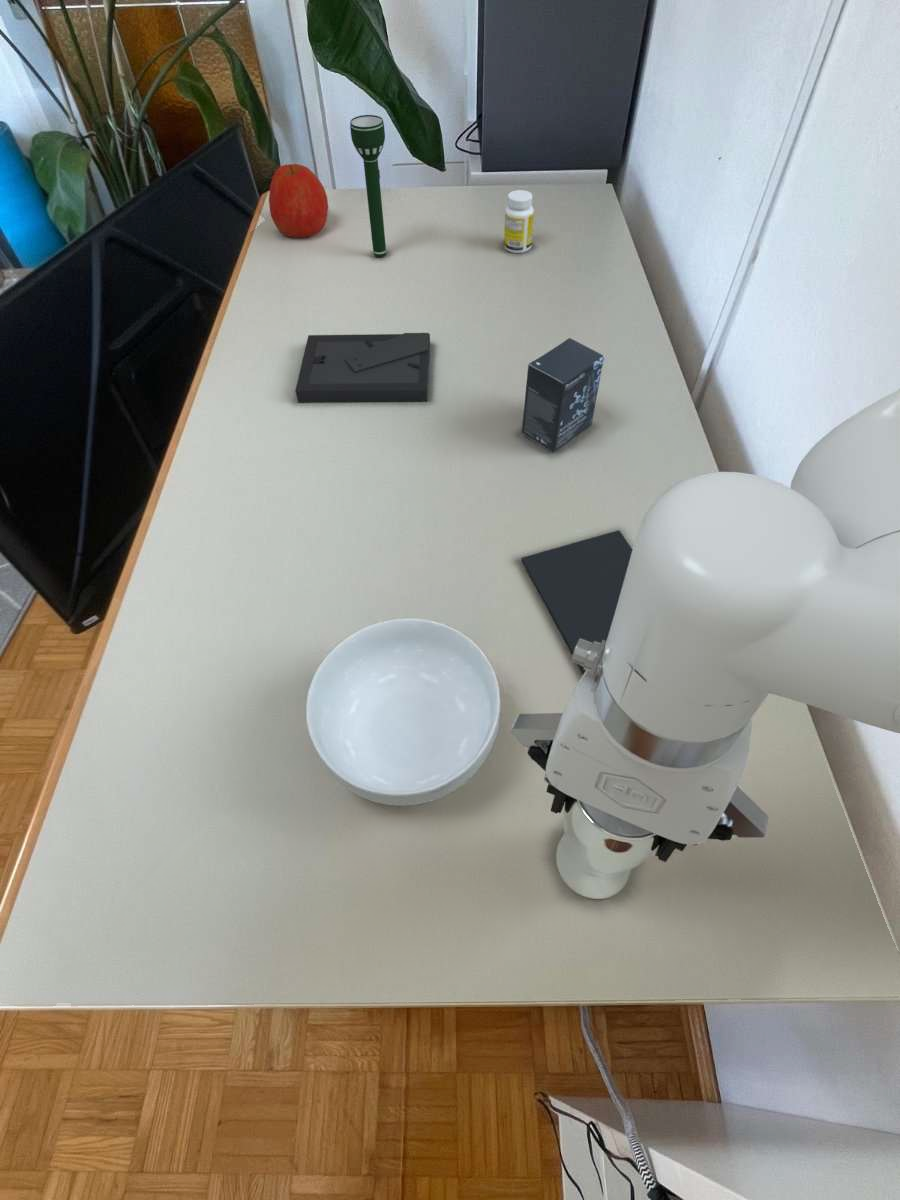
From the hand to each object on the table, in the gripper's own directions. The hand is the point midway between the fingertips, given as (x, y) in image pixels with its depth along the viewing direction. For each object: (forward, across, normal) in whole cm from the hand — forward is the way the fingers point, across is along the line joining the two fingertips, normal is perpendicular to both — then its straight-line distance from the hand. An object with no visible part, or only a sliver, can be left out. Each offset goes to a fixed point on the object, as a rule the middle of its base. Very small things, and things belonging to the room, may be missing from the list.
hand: (613, 816), depth 49 cm
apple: (+10, -83, +84) cm, 119 cm away
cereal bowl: (+10, -19, +4) cm, 22 cm away
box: (+10, -22, +50) cm, 56 cm away
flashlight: (+10, -66, +81) cm, 105 cm away
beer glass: (+10, 0, 0) cm, 10 cm away
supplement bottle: (+10, -45, +93) cm, 104 cm away
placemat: (+10, -6, +25) cm, 27 cm away
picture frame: (+10, -51, +51) cm, 73 cm away
